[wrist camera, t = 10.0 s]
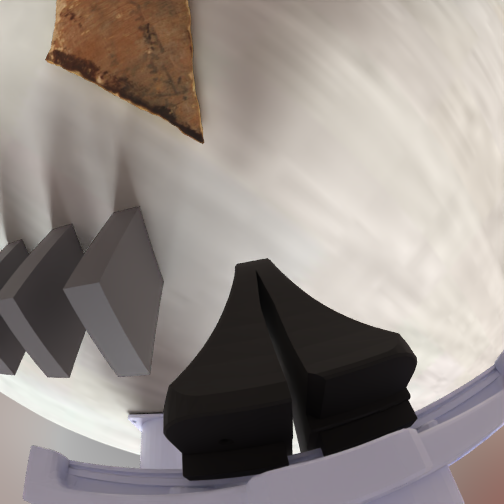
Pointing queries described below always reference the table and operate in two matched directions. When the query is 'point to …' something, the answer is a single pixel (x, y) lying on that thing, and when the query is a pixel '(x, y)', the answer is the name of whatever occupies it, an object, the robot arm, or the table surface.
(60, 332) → the domino
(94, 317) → the domino
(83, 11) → the shard
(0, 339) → the domino
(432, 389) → the table surface
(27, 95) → the table surface
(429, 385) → the table surface
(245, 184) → the table surface
